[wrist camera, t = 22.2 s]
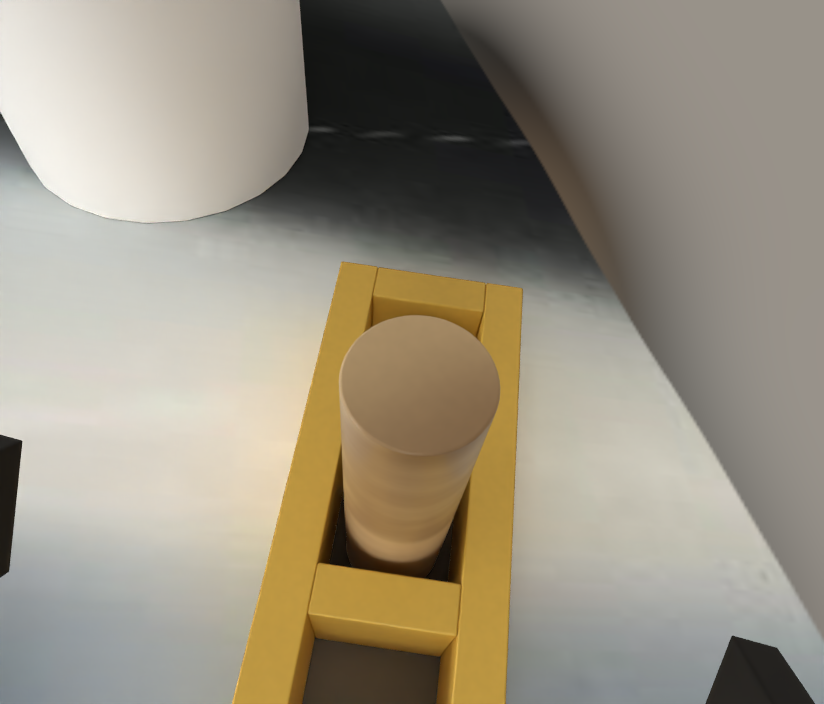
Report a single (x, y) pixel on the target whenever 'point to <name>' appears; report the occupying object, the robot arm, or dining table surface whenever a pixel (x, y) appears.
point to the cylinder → (154, 101)
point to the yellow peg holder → (321, 500)
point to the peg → (410, 437)
